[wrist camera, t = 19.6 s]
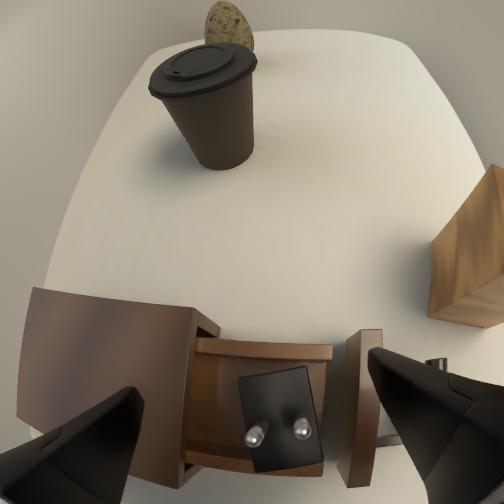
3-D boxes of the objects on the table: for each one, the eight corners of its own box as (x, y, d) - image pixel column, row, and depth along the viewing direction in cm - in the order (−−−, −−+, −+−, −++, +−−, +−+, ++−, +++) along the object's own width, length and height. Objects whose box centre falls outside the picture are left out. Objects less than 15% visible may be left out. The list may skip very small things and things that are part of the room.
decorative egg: (210, 80, 31) (190, 12, 22) (214, 60, 34) (198, 0, 25) (257, 73, 30) (246, 3, 21) (257, 54, 33) (246, -8, 24)
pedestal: (487, 328, 16) (573, 288, 7) (427, 317, 17) (509, 267, 8) (488, 257, 18) (555, 194, 9) (431, 241, 19) (491, 162, 11)
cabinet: (220, 327, 19) (194, 307, 14) (208, 462, 15) (178, 490, 10) (78, 308, 21) (32, 286, 16) (65, 416, 17) (16, 416, 12)
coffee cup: (176, 187, 24) (128, 98, 15) (189, 126, 28) (158, 46, 18) (270, 178, 23) (255, 74, 14) (267, 116, 27) (255, 28, 18)
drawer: (429, 335, 16) (458, 324, 12) (422, 456, 12) (448, 470, 9) (183, 330, 18) (159, 318, 15) (172, 451, 15) (145, 464, 11)
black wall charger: (313, 433, 14) (334, 487, 6) (267, 441, 14) (242, 500, 6) (300, 368, 15) (311, 361, 7) (255, 376, 15) (218, 377, 8)
